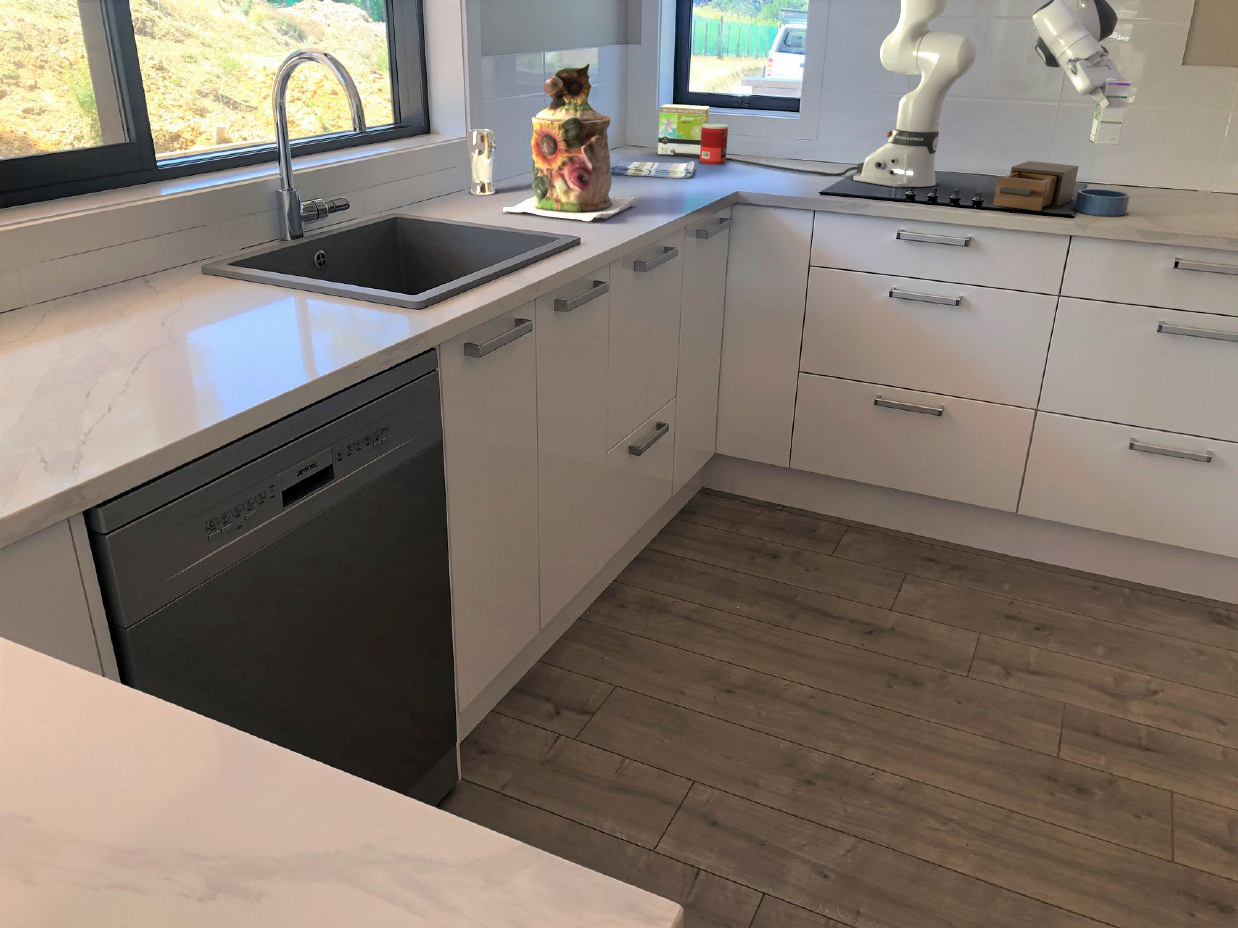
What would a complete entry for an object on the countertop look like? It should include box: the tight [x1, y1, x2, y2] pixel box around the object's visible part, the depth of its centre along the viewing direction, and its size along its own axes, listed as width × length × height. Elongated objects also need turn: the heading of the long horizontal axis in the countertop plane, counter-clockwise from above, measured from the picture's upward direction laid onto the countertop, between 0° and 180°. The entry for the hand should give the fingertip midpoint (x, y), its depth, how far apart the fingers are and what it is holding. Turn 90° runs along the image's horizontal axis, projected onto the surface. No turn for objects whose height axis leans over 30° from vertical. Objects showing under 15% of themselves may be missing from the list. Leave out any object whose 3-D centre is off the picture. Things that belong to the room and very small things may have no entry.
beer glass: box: [467, 128, 497, 196], centre depth 251 cm, size 7×7×15 cm
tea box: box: [657, 103, 710, 156], centre depth 322 cm, size 15×10×15 cm, turn 81°
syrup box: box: [1088, 77, 1133, 146], centre depth 239 cm, size 6×6×14 cm
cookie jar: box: [503, 63, 638, 222], centre depth 229 cm, size 25×25×32 cm
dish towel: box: [611, 160, 696, 179], centre depth 288 cm, size 17×24×3 cm
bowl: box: [1074, 188, 1131, 217], centre depth 246 cm, size 12×12×4 cm
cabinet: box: [1009, 160, 1080, 209], centre depth 257 cm, size 15×13×9 cm
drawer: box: [992, 172, 1058, 212], centre depth 246 cm, size 18×11×7 cm, turn 144°
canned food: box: [699, 123, 729, 165], centre depth 307 cm, size 8×8×11 cm
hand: (1114, 105), depth 238 cm, fingers closed on syrup box, 7 cm apart
